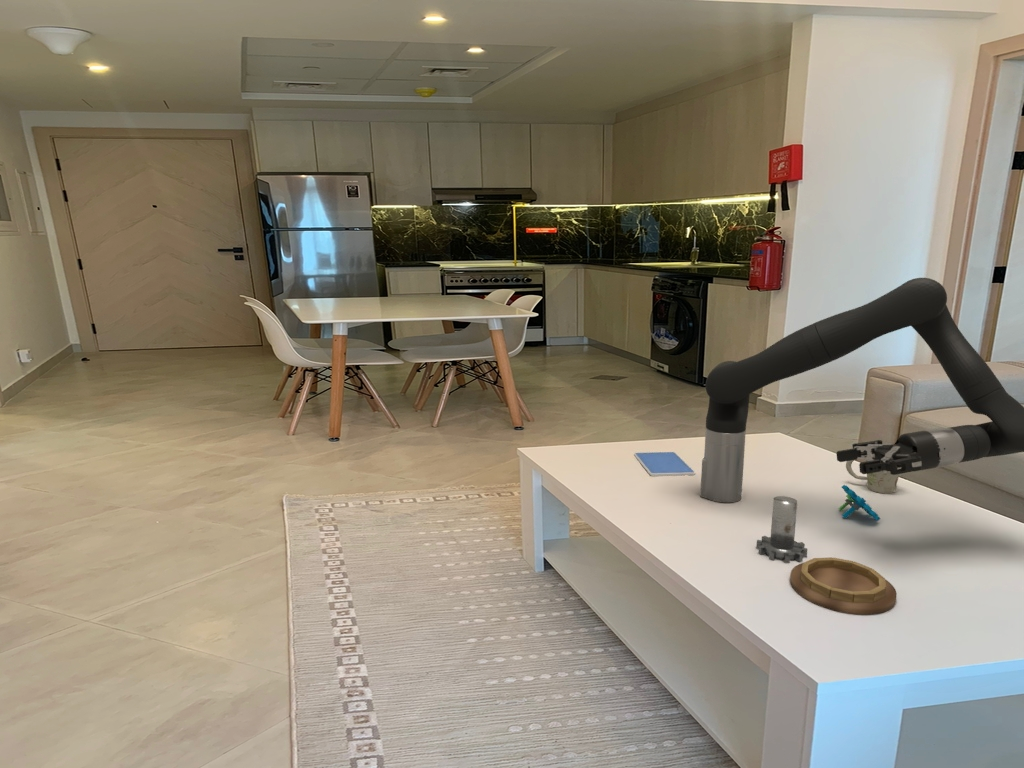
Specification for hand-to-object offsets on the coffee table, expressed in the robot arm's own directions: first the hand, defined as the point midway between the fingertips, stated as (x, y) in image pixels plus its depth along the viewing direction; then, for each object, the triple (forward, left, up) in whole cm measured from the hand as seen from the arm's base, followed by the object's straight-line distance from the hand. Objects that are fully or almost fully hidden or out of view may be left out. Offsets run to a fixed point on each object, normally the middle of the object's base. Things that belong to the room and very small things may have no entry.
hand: (848, 462), depth 130 cm
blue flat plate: (-46, +38, -19) cm, 62 cm away
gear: (+3, +20, -19) cm, 27 cm away
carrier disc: (0, -17, -18) cm, 25 cm away
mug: (+6, +42, -19) cm, 46 cm away
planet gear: (-11, -6, -18) cm, 22 cm away
